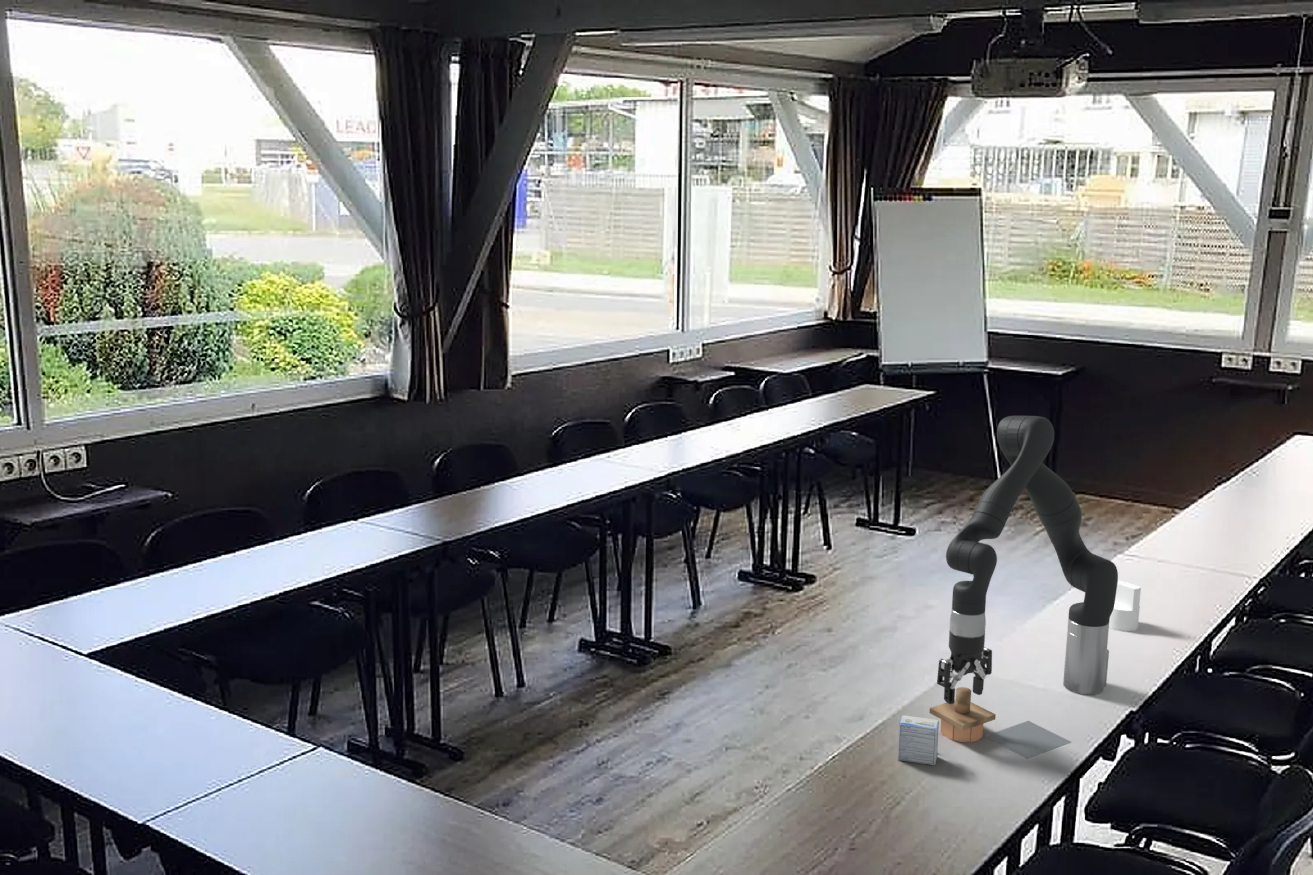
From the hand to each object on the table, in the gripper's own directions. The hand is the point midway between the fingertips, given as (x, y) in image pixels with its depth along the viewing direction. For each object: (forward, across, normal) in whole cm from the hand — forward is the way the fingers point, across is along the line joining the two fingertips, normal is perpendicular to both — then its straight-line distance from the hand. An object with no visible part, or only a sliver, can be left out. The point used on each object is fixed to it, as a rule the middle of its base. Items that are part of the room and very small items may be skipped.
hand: (963, 698), depth 262 cm
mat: (+9, -10, +10) cm, 17 cm away
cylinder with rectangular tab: (+9, -84, -23) cm, 88 cm away
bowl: (+9, 0, 0) cm, 9 cm away
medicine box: (+9, +16, +3) cm, 19 cm away
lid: (+4, 0, 0) cm, 4 cm away
